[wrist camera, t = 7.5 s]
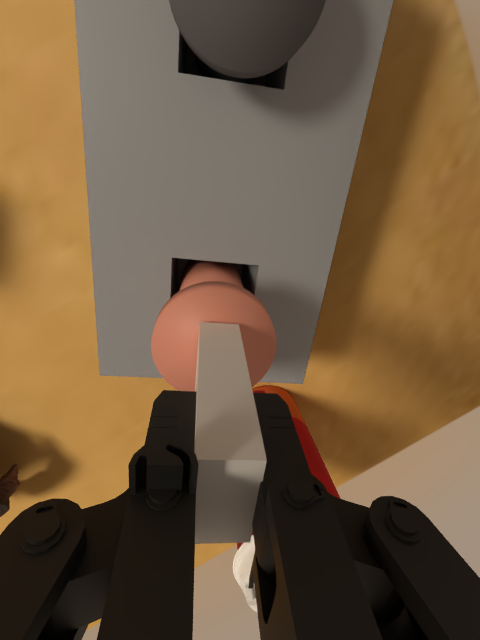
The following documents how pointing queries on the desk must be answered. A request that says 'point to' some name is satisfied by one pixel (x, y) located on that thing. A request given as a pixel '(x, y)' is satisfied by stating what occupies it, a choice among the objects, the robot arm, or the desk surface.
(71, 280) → the desk surface
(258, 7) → the dark gray plug
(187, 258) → the block
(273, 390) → the paper cup
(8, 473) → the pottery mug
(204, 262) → the salmon pink plug
